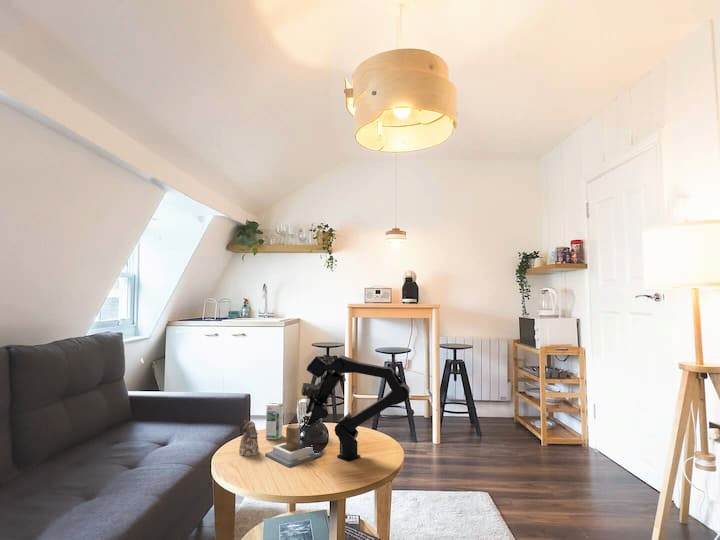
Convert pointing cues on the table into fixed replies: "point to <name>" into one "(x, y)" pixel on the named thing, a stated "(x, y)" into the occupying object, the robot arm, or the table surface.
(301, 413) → the beer glass
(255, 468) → the table surface
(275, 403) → the syrup box
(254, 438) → the figurine
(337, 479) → the table surface
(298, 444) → the walnut peg block
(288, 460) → the socket board
